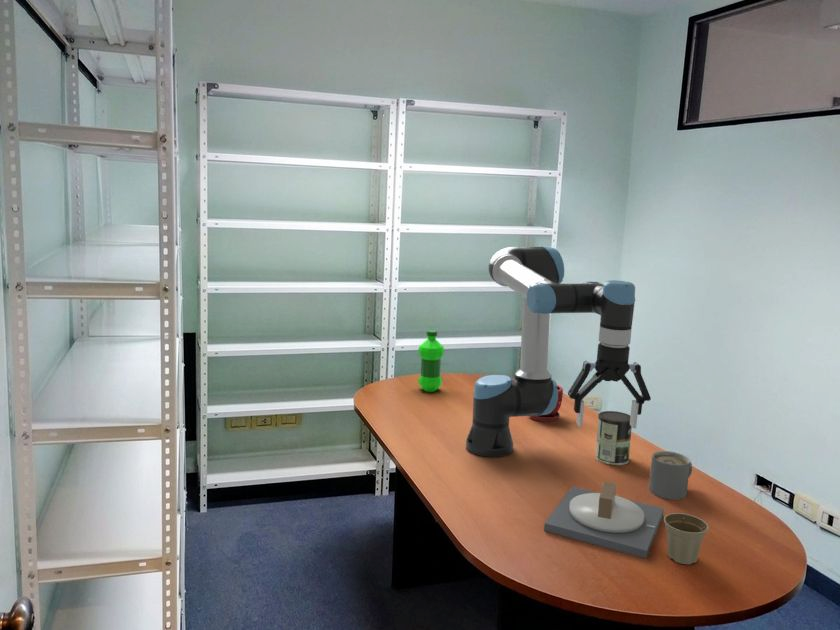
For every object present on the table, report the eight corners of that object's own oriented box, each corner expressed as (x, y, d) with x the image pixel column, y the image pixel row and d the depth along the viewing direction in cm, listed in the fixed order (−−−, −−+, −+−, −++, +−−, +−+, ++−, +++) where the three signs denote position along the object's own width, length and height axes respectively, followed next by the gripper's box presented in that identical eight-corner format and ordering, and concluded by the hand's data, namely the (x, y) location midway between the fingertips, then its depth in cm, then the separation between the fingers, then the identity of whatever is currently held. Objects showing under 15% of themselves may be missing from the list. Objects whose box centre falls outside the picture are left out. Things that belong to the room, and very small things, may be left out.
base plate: (543, 530, 160) (544, 521, 159) (571, 493, 180) (572, 485, 180) (646, 558, 148) (647, 549, 148) (663, 515, 169) (663, 507, 169)
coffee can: (627, 454, 209) (631, 412, 207) (630, 467, 199) (634, 423, 197) (593, 451, 211) (597, 409, 209) (595, 463, 201) (599, 419, 199)
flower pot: (653, 547, 154) (656, 512, 152) (691, 546, 154) (695, 512, 153) (671, 569, 144) (675, 533, 143) (712, 568, 145) (716, 532, 144)
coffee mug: (663, 501, 177) (667, 466, 175) (641, 485, 186) (644, 452, 185) (704, 496, 181) (708, 462, 179) (680, 481, 190) (684, 448, 189)
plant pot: (568, 419, 241) (570, 388, 238) (542, 425, 233) (544, 393, 231) (543, 409, 251) (545, 379, 249) (517, 415, 244) (519, 384, 242)
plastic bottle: (434, 395, 265) (436, 334, 261) (412, 390, 271) (414, 331, 266) (447, 389, 273) (449, 331, 269) (425, 385, 279) (427, 327, 275)
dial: (641, 539, 152) (643, 513, 151) (563, 523, 159) (565, 498, 158) (645, 506, 169) (648, 483, 168) (575, 493, 175) (576, 470, 174)
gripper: (658, 341, 165) (649, 421, 169) (560, 338, 164) (553, 418, 169) (670, 349, 158) (660, 432, 162) (567, 346, 157) (560, 429, 161)
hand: (606, 425), depth 165 cm, fingers open, 13 cm apart
